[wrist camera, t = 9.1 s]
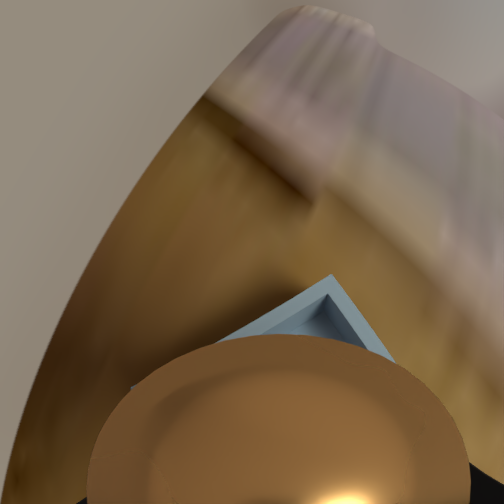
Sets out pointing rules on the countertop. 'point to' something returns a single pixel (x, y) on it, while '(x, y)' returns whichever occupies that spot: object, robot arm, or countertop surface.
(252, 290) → the countertop surface
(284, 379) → the pin
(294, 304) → the pin tray
